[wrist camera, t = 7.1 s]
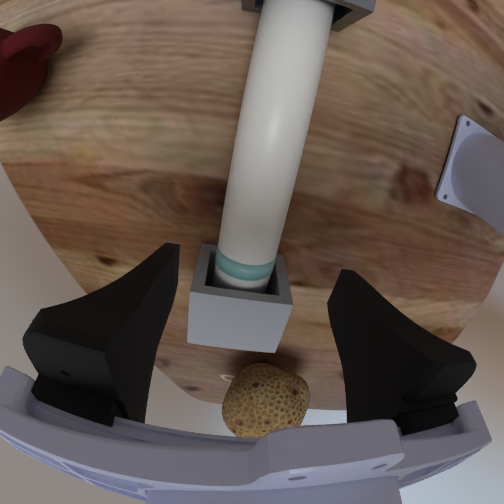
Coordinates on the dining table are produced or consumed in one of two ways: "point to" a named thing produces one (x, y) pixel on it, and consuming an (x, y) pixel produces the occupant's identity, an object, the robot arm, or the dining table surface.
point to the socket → (237, 309)
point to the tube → (270, 139)
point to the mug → (24, 64)
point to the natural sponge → (264, 401)
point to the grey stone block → (345, 13)
